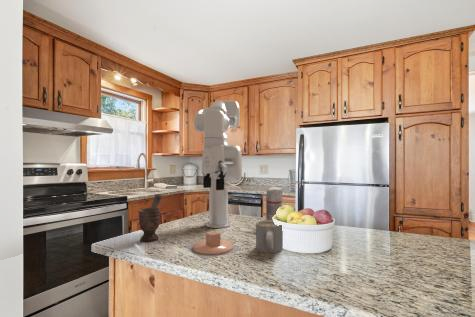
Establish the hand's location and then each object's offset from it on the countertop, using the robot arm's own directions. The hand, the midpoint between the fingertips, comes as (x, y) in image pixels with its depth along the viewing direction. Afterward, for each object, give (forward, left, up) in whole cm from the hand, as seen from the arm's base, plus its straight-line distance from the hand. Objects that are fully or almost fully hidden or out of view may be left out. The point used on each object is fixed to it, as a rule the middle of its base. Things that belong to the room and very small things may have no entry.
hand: (213, 188), depth 98 cm
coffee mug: (+13, +16, -23) cm, 31 cm away
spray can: (-12, +42, -23) cm, 49 cm away
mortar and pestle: (-22, -16, -23) cm, 36 cm away
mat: (0, 0, -23) cm, 23 cm away
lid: (0, 0, -22) cm, 22 cm away
